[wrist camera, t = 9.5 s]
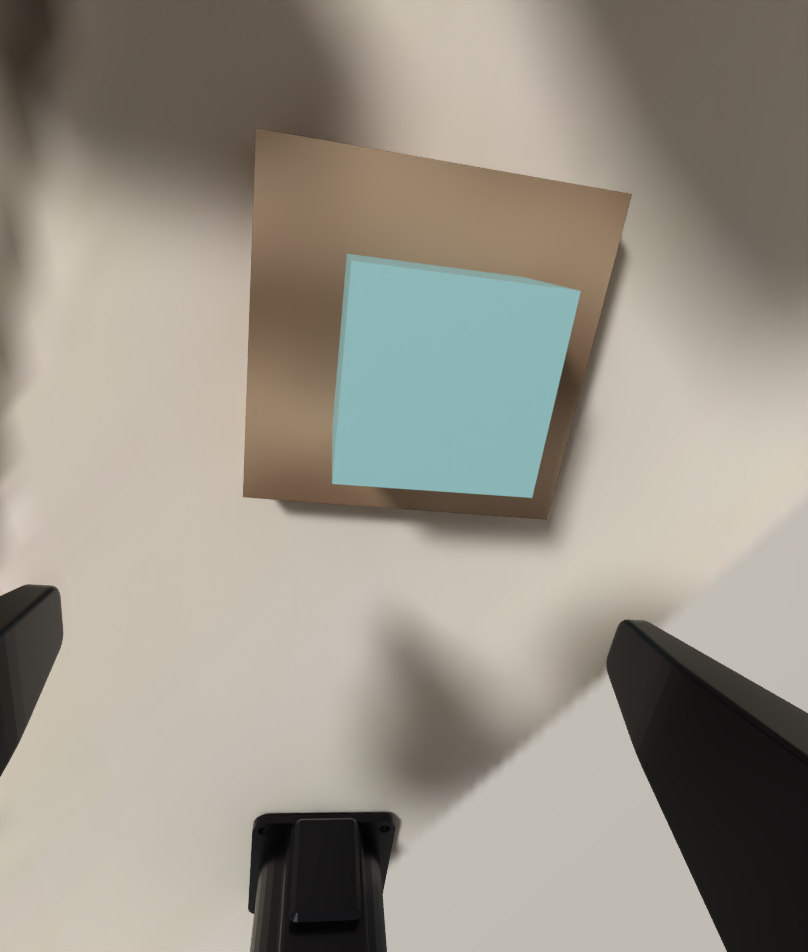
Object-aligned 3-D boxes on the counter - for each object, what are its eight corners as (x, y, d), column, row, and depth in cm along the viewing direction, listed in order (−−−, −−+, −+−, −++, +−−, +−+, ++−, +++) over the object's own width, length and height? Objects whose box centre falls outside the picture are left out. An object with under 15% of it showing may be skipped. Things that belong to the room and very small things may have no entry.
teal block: (491, 443, 18) (532, 497, 14) (332, 430, 17) (332, 484, 14) (524, 277, 16) (580, 291, 12) (346, 253, 15) (351, 260, 12)
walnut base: (528, 494, 21) (546, 519, 19) (251, 472, 20) (243, 497, 18) (600, 197, 17) (632, 194, 16) (264, 140, 16) (255, 127, 14)
